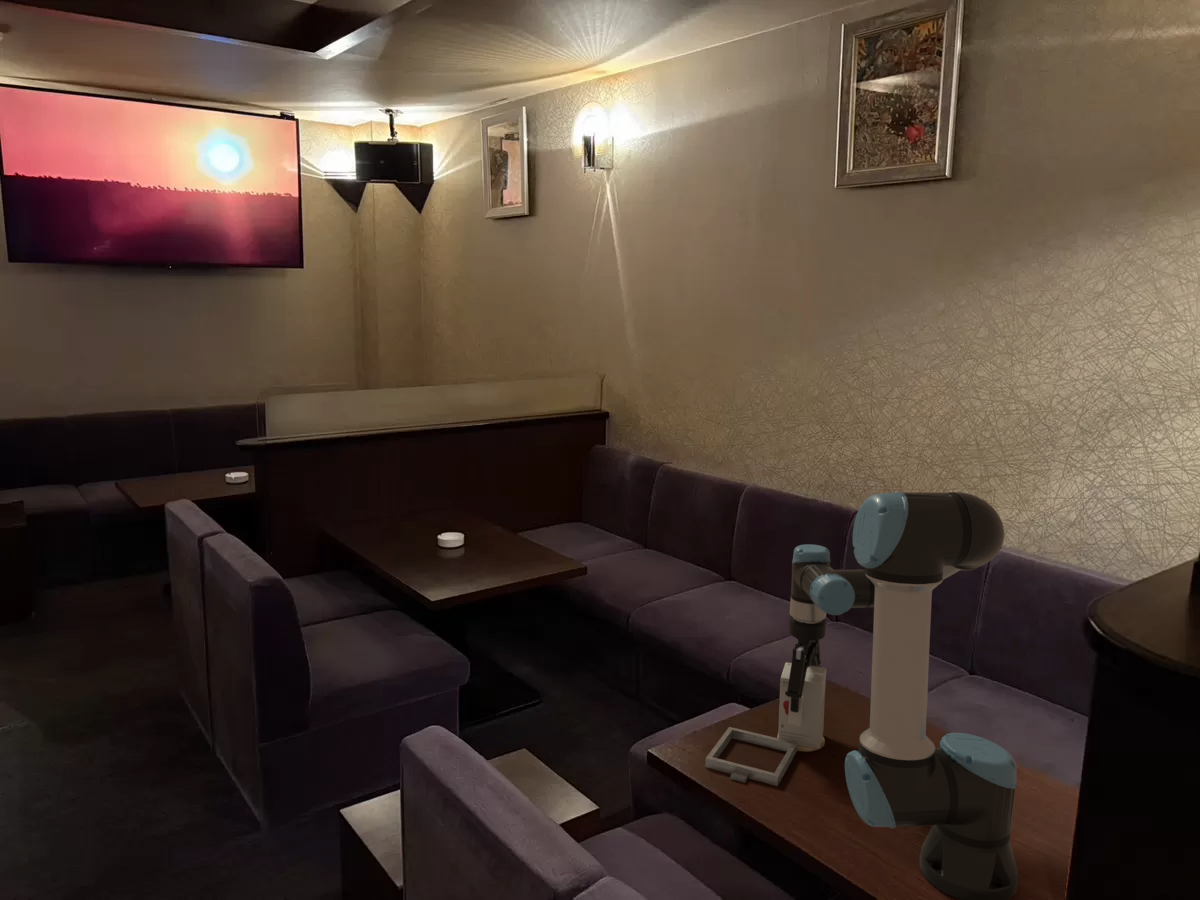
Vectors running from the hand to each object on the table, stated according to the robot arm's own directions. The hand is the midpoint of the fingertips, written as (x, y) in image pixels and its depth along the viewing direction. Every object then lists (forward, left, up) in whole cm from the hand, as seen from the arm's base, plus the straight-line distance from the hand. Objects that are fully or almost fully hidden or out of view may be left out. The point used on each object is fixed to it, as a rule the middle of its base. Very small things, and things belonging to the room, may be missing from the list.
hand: (802, 711), depth 189 cm
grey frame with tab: (-13, +7, -7) cm, 16 cm away
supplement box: (0, 0, -6) cm, 6 cm away
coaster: (0, 0, -7) cm, 7 cm away
